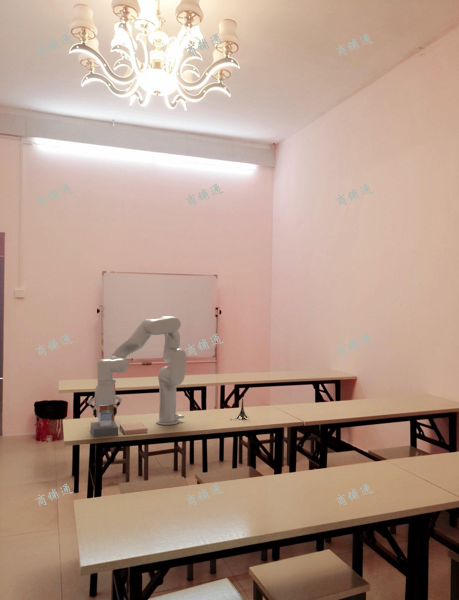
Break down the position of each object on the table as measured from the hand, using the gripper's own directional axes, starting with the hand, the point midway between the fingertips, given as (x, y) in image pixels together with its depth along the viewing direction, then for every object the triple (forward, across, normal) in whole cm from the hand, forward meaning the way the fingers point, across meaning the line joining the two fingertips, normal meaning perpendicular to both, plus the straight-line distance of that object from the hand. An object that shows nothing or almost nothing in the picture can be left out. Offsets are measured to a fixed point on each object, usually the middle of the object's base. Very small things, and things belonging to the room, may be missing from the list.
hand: (105, 416), depth 242 cm
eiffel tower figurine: (+10, -80, -4) cm, 80 cm away
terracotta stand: (+9, -15, 0) cm, 17 cm away
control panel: (+9, -4, -20) cm, 22 cm away
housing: (+4, 0, 0) cm, 5 cm away
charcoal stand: (+8, 0, 0) cm, 9 cm away
